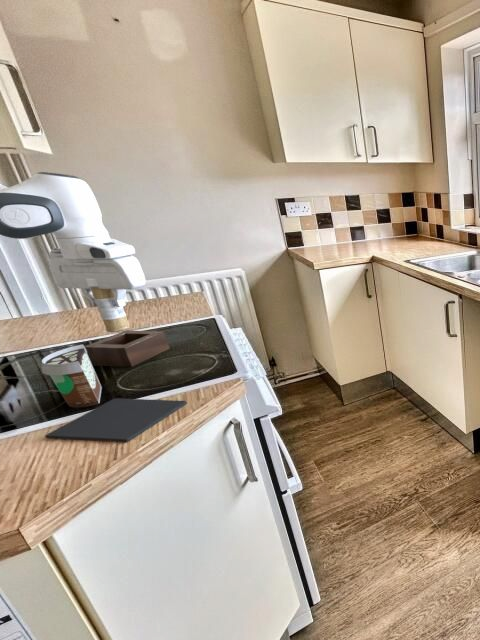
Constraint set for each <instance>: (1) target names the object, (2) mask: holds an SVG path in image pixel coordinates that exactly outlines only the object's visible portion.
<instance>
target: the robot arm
mask: <svg viewBox="0 0 480 640" xmlns="http://www.w3.org/2000/svg"><path fill="white" fill-rule="evenodd" d="M48 234H53V236H54V238H55V240H56V242H57V245H58V247H55V248H54V247H53V248H52V249H51V251H50V252H49V253H48V257H49V267H50V271H51V276H52V278H53V280H54V283H55V285H57V287H58V288H60V289H78V290H79V289H80V291H81V293H82V294H83V295H84V296H85V297H86V299H88V300H89V301H90V304H91V306H92V307H97V304H96V302H95V299H94V296H93V294H92V291H91V288H90V286H88V284H87V281H86V279H96V280H97V283H98V287H99V288H100V289H111V291H112V293H113V294H114V293H115V298H114V300H111V301H112V303H113V306H114V307H123V308H124V307H125V306H126V305H127V303H126V300H125V297H126V294H127V291H128V290H130V291H132V290H137V289H140V288H143V287H144V286H146V276H145V273H144V271H143V268H142V265H141V263H140V260H138V258H136V256H134V255H135V254H136V249H135V247H134V245H131V244H130V243H127V242H123V241H120V240H117V239H115V238H112V237H111V236H110V233H109V231H108V230H107V228H106V227H105V225H104V223H103V215H102V210H101V208H100V206H99V203H98V201H97V198H96V196H95V194H94V192H93V190H92V188H91V187H90V185H89V184H88V183H87V182H86V180H84V179H82V178H80V177H78V176H75V175H71V174H66V173H65V174H64V173H57V172H47V171H40V172H35V173H34V174H33V175H32V176H31V177H29V178H27V179H25V180H24V181H21V182H19V183H16V184H14V185H11V186H8V185H5V184H3V183H1V182H0V236H3V237H5V238H9V239H16V240H28V239H29V240H30V239H33V238H36V237H39V236H44V235H48Z"/></svg>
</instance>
